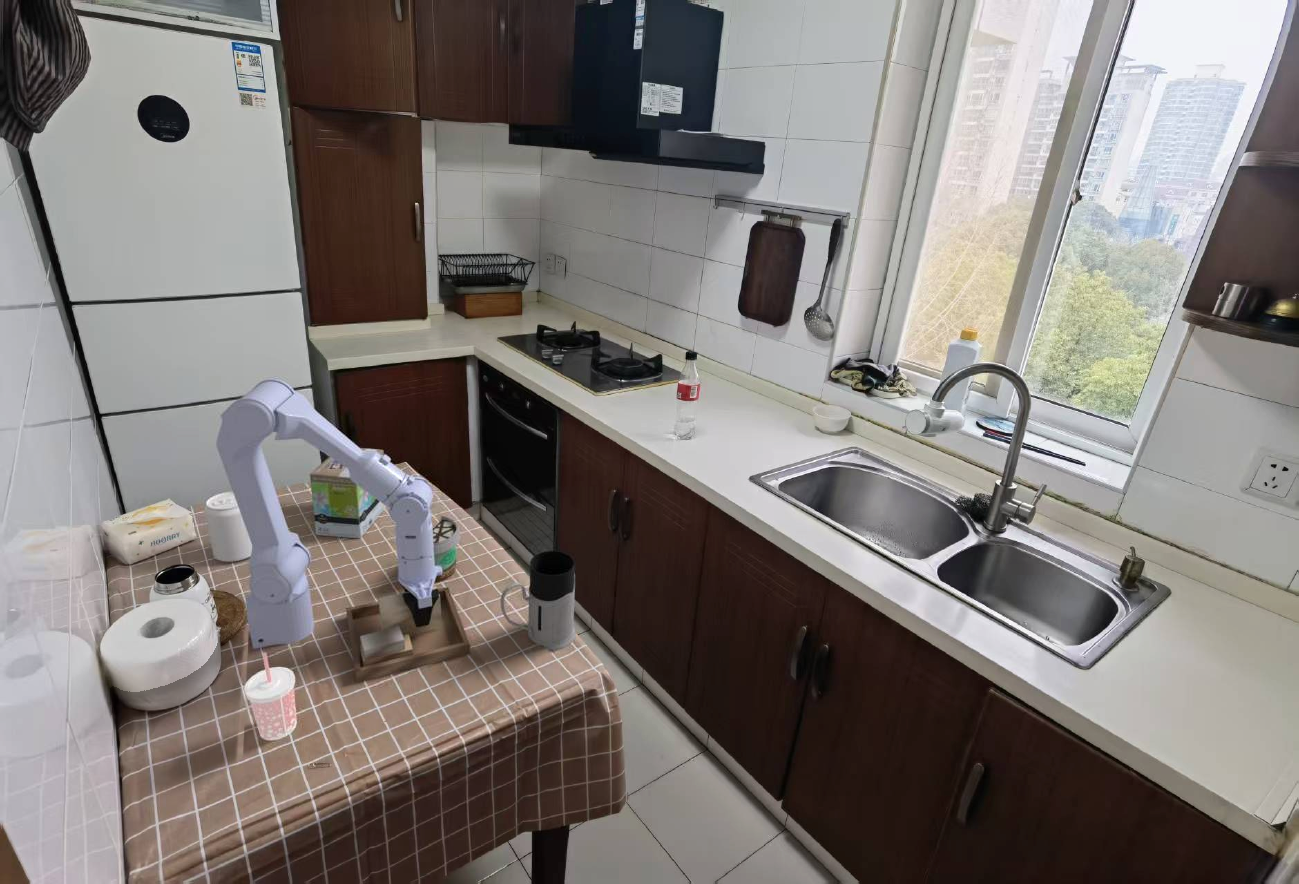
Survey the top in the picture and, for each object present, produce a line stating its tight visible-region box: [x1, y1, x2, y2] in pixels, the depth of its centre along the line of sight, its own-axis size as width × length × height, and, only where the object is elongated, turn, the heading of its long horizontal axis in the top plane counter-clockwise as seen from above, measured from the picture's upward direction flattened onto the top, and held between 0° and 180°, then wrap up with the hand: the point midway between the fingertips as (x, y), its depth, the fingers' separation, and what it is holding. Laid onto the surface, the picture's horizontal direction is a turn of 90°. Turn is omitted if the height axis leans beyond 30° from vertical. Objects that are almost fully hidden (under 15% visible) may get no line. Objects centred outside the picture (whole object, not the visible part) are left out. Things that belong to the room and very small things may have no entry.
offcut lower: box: [360, 634, 413, 667], centre depth 109 cm, size 8×4×2 cm, turn 117°
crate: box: [345, 586, 471, 684], centre depth 115 cm, size 18×17×3 cm
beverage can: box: [203, 491, 252, 563], centre depth 132 cm, size 8×8×12 cm
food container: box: [433, 515, 461, 584], centre depth 131 cm, size 12×6×10 cm, turn 168°
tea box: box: [309, 447, 387, 539], centre depth 146 cm, size 15×10×15 cm, turn 179°
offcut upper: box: [360, 626, 405, 661], centre depth 108 cm, size 6×4×2 cm, turn 121°
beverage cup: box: [243, 651, 298, 741], centre depth 93 cm, size 6×6×14 cm
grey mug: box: [500, 550, 577, 652], centre depth 114 cm, size 9×14×15 cm, turn 132°
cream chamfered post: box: [378, 585, 442, 637], centre depth 115 cm, size 10×3×7 cm, turn 117°
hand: (420, 617), depth 116 cm, fingers open, 4 cm apart
